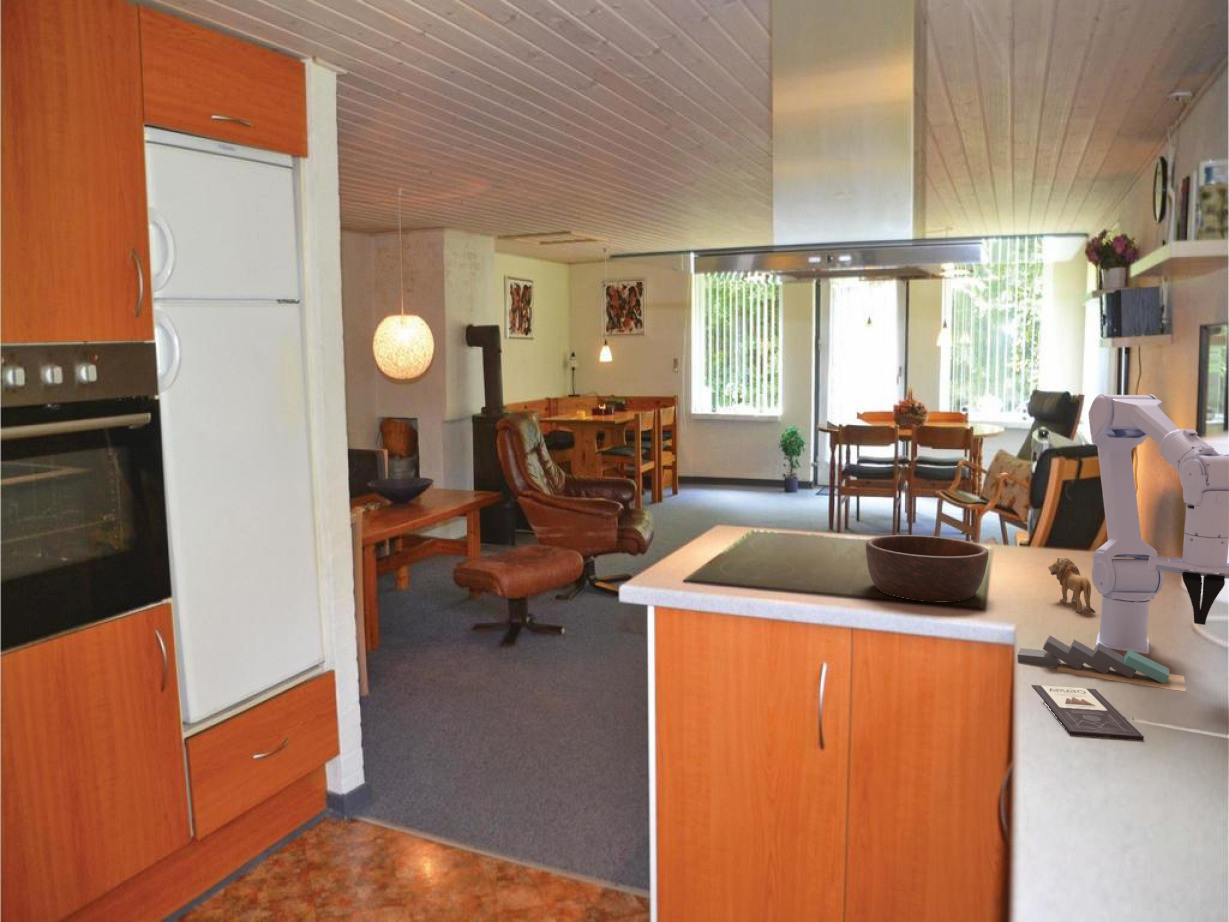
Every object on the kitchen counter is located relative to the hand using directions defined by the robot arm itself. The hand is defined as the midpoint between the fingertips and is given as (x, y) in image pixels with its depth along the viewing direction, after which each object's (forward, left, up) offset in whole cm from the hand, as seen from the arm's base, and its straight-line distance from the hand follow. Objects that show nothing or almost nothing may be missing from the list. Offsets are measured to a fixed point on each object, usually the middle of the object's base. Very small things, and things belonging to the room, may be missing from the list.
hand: (1199, 622), depth 139 cm
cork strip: (+1, -10, -10) cm, 14 cm away
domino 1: (+1, -19, -9) cm, 21 cm away
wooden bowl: (-39, -48, -10) cm, 63 cm away
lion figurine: (-44, -20, -10) cm, 49 cm away
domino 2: (+1, -15, -9) cm, 18 cm away
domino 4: (+1, -8, -9) cm, 12 cm away
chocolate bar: (+21, -14, -11) cm, 28 cm away
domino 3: (+1, -12, -9) cm, 15 cm away
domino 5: (+1, -4, -9) cm, 10 cm away
